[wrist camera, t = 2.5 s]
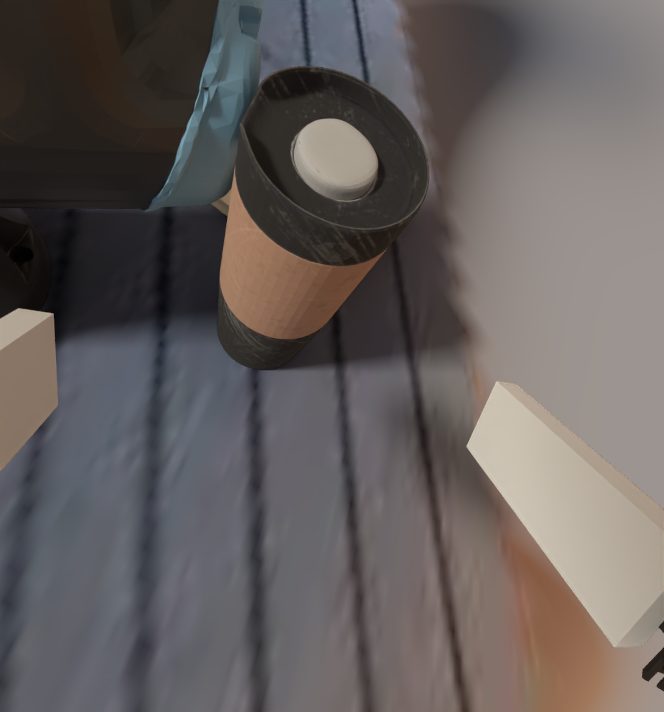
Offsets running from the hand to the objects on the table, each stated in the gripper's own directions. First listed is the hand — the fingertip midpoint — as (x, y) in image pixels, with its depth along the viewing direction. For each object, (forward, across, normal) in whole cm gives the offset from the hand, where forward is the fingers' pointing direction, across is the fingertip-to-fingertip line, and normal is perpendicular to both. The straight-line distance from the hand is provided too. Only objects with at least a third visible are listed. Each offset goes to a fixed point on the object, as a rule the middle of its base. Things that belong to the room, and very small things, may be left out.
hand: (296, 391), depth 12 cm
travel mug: (+21, 0, -6) cm, 22 cm away
